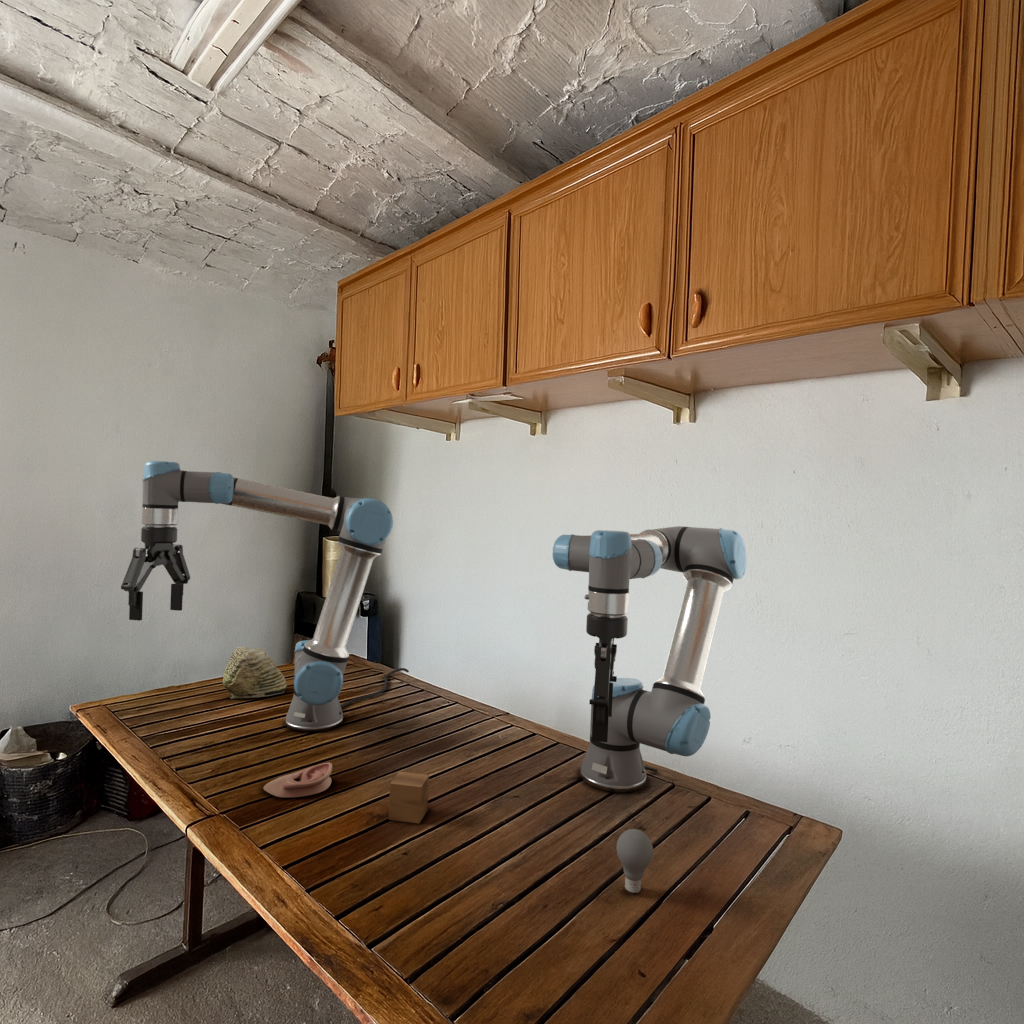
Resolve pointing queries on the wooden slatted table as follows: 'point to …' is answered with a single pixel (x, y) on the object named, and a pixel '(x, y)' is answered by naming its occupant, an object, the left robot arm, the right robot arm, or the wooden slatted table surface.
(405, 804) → the block
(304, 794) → the anatomical model
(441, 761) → the wooden slatted table surface
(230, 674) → the fossil
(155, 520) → the left robot arm
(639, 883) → the light bulb
